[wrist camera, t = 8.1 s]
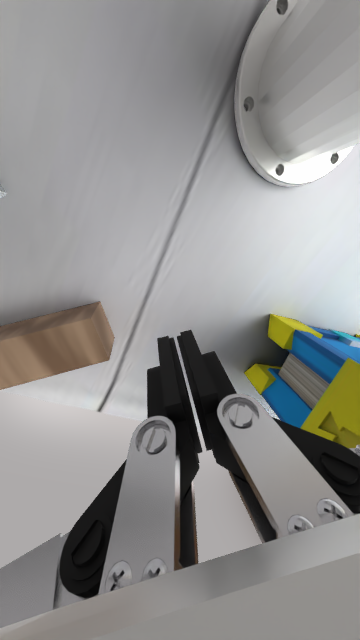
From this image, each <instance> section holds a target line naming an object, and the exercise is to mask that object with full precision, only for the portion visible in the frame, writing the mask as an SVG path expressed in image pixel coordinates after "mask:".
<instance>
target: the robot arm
mask: <svg viewBox="0 0 360 640" xmlns="http://www.w3.org/2000/svg"><path fill="white" fill-rule="evenodd" d="M234 104H235V121H236V127H237V133H238V137H239V140H240V143H241V146H242V149H243V151H244V153H245V155H246V157H247V159H248V161H249V163H250V164H251V165H252V167H253V168H254V169H255V170H256V171H257V173H258V174H260V175H261V176H262V177H263V178H265V179H266V180H267V181H269V182H272V183H274V184H276V185H280V186H286V187H292V186H300V185H304V184H307V183H311V182H313V181H315V180H318V179H320V178H322V177H324V176H325V175H326V174H328V173H329V172H331V171H332V170H333V169H335V168H336V167H337V166H338V165H339V164H340V163H341V162H342V161H343V160H344V159H345V157H346V156H347V155H348V153H349V152H350V151H351V150H352V148H353V147H354V146H355V145H357V144H360V0H270V1H269V2H268V4H267V5H266V7H265V8H264V10H263V11H262V13H261V14H260V16H259V18H258V20H257V22H256V23H255V25H254V27H253V29H252V31H251V33H250V35H249V37H248V40H247V42H246V45H245V48H244V50H243V53H242V55H241V60H240V64H239V68H238V72H237V76H236V86H235V95H234ZM244 107H245V108H246V110H245V109H244ZM275 171H276V172H275ZM180 334H181V336H177V339H178V343H179V347H180V351H181V355H182V359H183V362H184V366H185V370H186V374H187V378H188V382H189V385H190V389H191V393H192V397H193V401H194V404H195V408H196V412H197V416H198V419H199V423H200V427H201V431H202V434H203V438H204V442H205V446H206V449H207V450H211V449H212V451H213V455H214V457H215V459H216V462H217V463H218V464H219V465H221V466H223V467H224V468H226V469H228V471H229V474H230V476H231V479H232V481H233V483H234V485H235V487H236V489H237V491H238V493H239V495H240V497H241V500H242V502H243V504H244V506H245V508H246V510H247V512H248V514H249V516H250V518H251V521H252V522H253V525H254V527H255V529H256V531H257V533H258V535H259V537H260V539H261V541H262V544H260V545H257V546H253V547H250V548H247V549H244V550H241V551H237V552H234V553H231V554H228V555H225V556H221V557H218V558H215V559H212V560H209V561H206V562H203V563H199V564H198V547H197V531H196V513H195V512H196V511H195V493H194V482H193V479H194V477H195V475H196V473H197V471H198V469H199V464H198V463H199V459H198V454H197V453H201V452H202V448H201V444H200V440H199V436H198V432H197V428H196V423H195V419H194V415H193V411H192V407H191V403H190V399H189V395H188V391H187V387H186V383H185V379H184V375H183V371H182V368H181V364H180V360H179V357H178V353H177V349H176V345H175V342H174V338H169V336H165V337H162V338H158V339H157V340H158V351H159V361H160V366H158V367H154V368H150V369H148V370H147V407H148V419H146V420H144V421H143V422H142V423H141V424H140V425H139V426H138V427H137V428H136V430H135V431H134V433H133V436H132V438H131V443H130V447H129V452H128V456H127V459H126V461H125V462H124V463H123V464H122V466H121V467H120V468H119V470H118V471H117V472H116V473H115V475H114V476H113V477H112V478H111V479H110V481H109V482H108V483H107V485H106V486H105V487H104V488H103V490H102V491H101V492H100V493H99V495H98V496H97V497H96V498H95V500H94V501H93V502H92V503H91V505H90V506H89V507H88V509H87V510H86V511H85V512H84V513H83V515H82V516H81V517H80V519H79V520H78V521H77V522H76V524H75V525H74V527H73V528H72V530H71V531H70V532H69V533H67V534H65V535H62V534H61V533H60V534H58V535H57V536H55V537H53V538H51V539H50V540H48V541H46V542H45V543H43V544H42V545H40V546H38V547H36V548H35V549H33V550H31V551H29V552H28V553H26V554H24V555H23V556H21V557H19V558H18V559H16V560H14V561H12V562H11V563H9V564H8V565H6V566H4V567H2V568H1V569H0V640H360V445H357V446H356V448H347V447H345V446H343V445H341V444H339V443H336V442H334V441H331V440H328V439H326V438H323V437H321V436H318V435H316V434H313V433H311V432H308V431H306V430H303V429H301V428H298V427H296V426H293V425H291V424H288V423H286V422H283V421H280V420H278V419H275V418H273V417H271V416H270V415H269V414H268V412H267V411H266V410H265V409H264V408H263V406H262V405H261V404H260V403H259V402H258V401H257V400H256V399H254V398H252V397H251V396H249V395H245V394H237V393H236V391H235V389H234V387H233V386H232V384H231V382H230V380H229V378H228V376H227V374H226V372H225V370H224V368H223V367H222V365H221V363H220V361H219V359H218V357H217V355H216V353H215V352H214V351H213V352H210V353H206V354H202V355H201V352H200V350H199V347H198V345H197V343H196V340H195V338H194V335H193V333H192V331H191V330H188V331H184V332H180Z"/></svg>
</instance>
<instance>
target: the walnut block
mask: <svg viewBox="0 0 360 640" xmlns="http://www.w3.org/2000/svg"><path fill="white" fill-rule="evenodd" d="M114 338H115V337H114V335H113V332H112V330H111V327H110V325H109V322H108V320H107V317H106V315H105V312H104V310H103V307H102V305H101V302H96V303H92V304H88V305H84V306H80V307H76V308H72V309H68V310H64V311H60V312H56V313H52V314H48V315H44V316H40V317H36V318H32V319H28V320H24V321H20V322H15V323H11V324H7V325H3V326H0V390H2V389H5V388H9V387H13V386H16V385H20V384H24V383H27V382H31V381H35V380H38V379H42V378H46V377H49V376H53V375H57V374H60V373H64V372H68V371H71V370H75V369H78V368H82V367H86V366H89V365H93V364H97V363H100V362H104V361H108V360H109V359H110V355H111V351H112V346H113V342H114Z"/></svg>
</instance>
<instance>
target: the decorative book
mask: <svg viewBox="0 0 360 640" xmlns="http://www.w3.org/2000/svg"><path fill="white" fill-rule="evenodd" d="M268 337H269V338H271V339H272V340H273V341H274V342H275V343H277V344H278V345H279V346H280V347H282V348H283V349H286V350H288V351H289V352H290V353H289V355H288V357H287V359H286V361H285V362H284V364H283V366H282V367H276V366H269V365H263V364H255V365H253V366H252V367H251V368H249V369H248V370H247V371H246V372H244V374H245V375H246V376H247V378H248V379H249V380H250V382H251V383H252V384H253V386H254V387H255V389H256V390H257V391H258V393H259V394H260V395H262V396H263V397H264V399H265V400H266V401H267V403H268V404H269V405H270V407H271V408H272V409H273V411H274V412H275V413H276V415H277V416H278V417H279V419H280V420H281V421H283V422H286V423H288V424H291V425H293V426H296V427H298V428H301V429H303V430H306V431H308V432H311V433H313V434H316V435H318V436H321V437H323V438H326V439H328V440H331V441H334V442H336V443H339V444H341V445H343V446H345V447H347V448H356V446H357V445H360V335H357V334H356V337H354V336H351V335H349V334H347V333H343V332H339V331H335V330H330V329H329V330H324V329H320V328H315V327H311V326H307V325H305V324H303V323H301V322H299V321H297V320H294V319H290V318H286V317H282V316H278V315H274V314H270V320H269V328H268Z"/></svg>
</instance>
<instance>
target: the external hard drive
mask: <svg viewBox="0 0 360 640" xmlns="http://www.w3.org/2000/svg"><path fill="white" fill-rule="evenodd" d="M6 194H7V193H6V191H5V190H4V189H3V188H2V186H1V185H0V198H1V197H3V196H5V195H6Z"/></svg>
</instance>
